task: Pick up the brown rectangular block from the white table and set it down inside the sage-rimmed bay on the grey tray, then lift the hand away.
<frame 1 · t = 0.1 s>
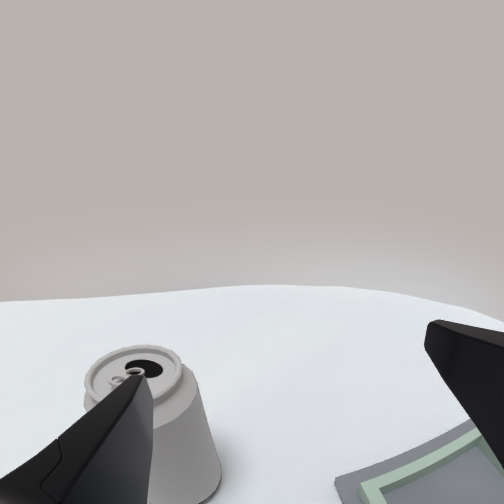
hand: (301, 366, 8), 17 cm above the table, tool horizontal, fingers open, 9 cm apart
can: (178, 479, 19), on the table
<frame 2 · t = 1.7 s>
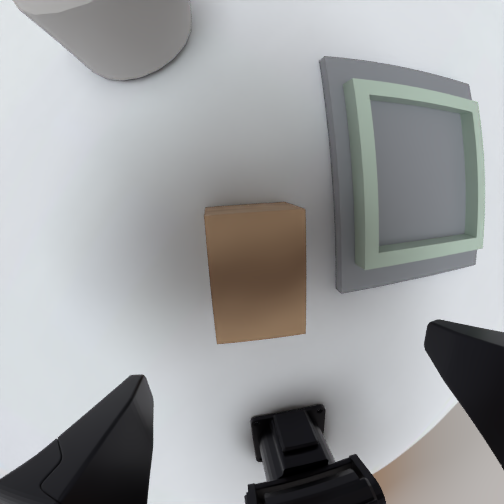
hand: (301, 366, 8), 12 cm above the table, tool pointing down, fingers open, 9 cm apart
brown rectangular block: (248, 258, 20), on the table
can: (137, 36, 15), on the table
grey tray: (414, 172, 20), on the table
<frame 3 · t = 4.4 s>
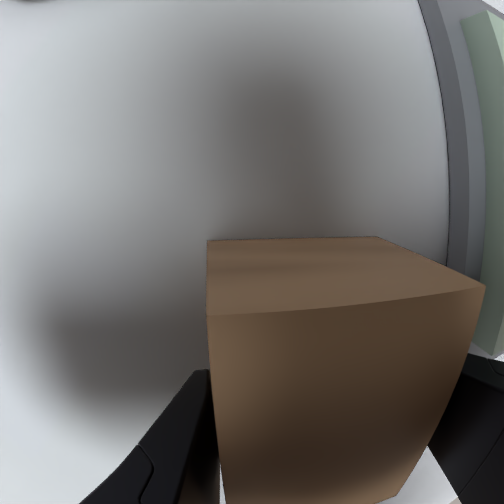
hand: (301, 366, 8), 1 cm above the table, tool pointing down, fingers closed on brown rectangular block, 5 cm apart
brown rectangular block: (293, 348, 9), on the table, touching gripper
when the fingers open (4 cm above the table, at t = 9.1 s): brown rectangular block drops 2 cm, resting on grey tray.
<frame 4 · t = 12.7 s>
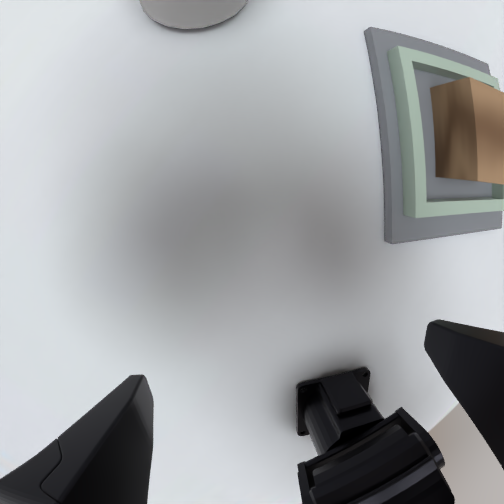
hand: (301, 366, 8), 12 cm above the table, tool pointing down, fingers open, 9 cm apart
brown rectangular block: (455, 135, 19), point 1 cm above the table, touching grey tray
grey tray: (447, 136, 20), on the table
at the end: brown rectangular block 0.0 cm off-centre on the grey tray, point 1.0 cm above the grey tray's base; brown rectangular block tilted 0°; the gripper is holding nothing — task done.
